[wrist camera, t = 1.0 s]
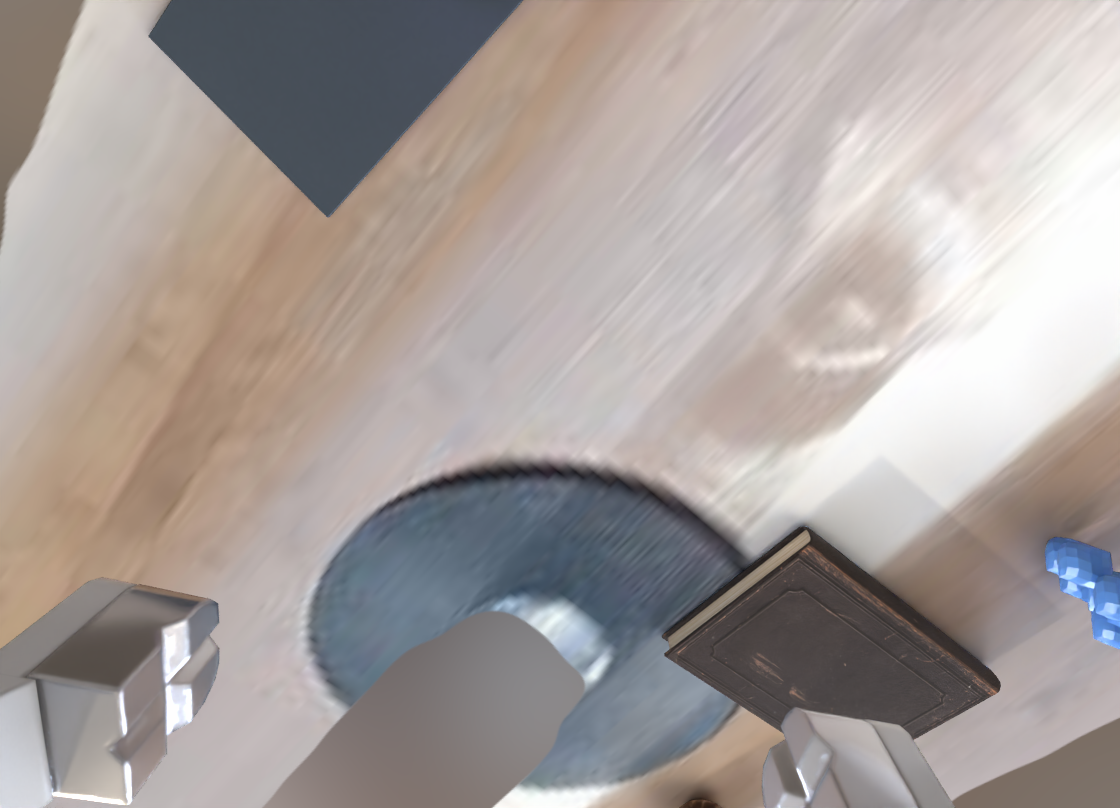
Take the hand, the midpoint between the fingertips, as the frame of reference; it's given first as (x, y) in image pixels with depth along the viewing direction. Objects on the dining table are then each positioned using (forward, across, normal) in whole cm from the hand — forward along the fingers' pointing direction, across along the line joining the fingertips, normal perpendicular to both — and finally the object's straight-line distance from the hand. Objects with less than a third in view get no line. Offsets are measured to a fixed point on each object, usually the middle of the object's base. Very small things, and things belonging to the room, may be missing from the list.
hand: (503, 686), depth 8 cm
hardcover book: (+34, -28, +25) cm, 51 cm away
